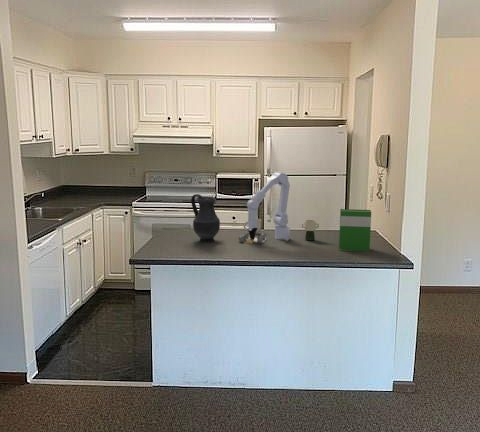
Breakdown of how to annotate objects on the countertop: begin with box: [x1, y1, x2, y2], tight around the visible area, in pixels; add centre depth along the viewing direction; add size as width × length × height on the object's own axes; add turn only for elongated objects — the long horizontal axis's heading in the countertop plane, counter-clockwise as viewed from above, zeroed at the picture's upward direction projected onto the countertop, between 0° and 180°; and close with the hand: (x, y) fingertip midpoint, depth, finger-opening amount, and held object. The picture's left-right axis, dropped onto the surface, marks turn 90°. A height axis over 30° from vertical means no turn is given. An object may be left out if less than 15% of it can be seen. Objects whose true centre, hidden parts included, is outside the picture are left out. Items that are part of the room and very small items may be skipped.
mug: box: [243, 218, 262, 235], centre depth 345 cm, size 8×13×10 cm, turn 81°
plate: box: [243, 237, 267, 244], centre depth 321 cm, size 15×16×1 cm
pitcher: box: [190, 193, 221, 243], centre depth 322 cm, size 17×21×30 cm
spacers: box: [238, 232, 266, 245], centre depth 321 cm, size 15×14×4 cm
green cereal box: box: [338, 208, 372, 252], centre depth 300 cm, size 18×7×24 cm, turn 80°
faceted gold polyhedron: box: [245, 237, 254, 245], centre depth 315 cm, size 4×5×2 cm
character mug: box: [301, 219, 320, 241], centre depth 326 cm, size 11×7×13 cm, turn 83°
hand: (252, 239), depth 321 cm, fingers closed
